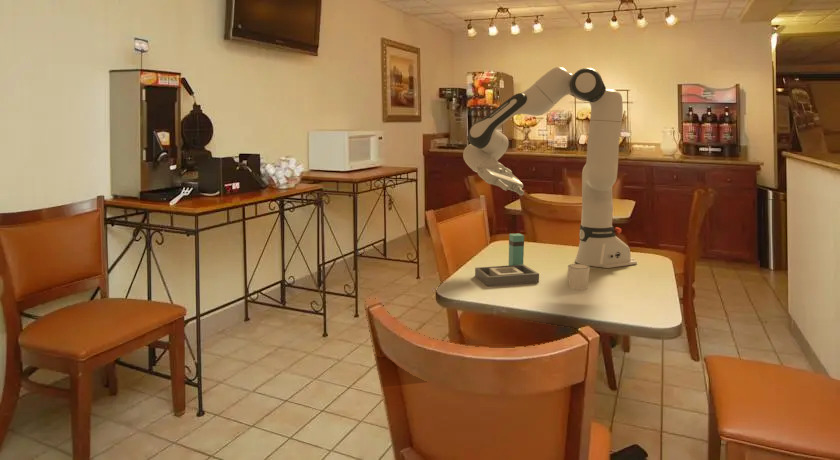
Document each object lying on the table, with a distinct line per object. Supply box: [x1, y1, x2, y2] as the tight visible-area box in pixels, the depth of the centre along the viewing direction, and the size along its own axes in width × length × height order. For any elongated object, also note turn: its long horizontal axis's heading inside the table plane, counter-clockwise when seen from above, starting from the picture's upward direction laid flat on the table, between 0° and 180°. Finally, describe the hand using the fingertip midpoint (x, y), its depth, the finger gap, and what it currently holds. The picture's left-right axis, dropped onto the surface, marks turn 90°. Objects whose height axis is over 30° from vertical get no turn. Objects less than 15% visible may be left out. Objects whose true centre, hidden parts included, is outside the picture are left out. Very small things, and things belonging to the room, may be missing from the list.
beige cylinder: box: [567, 263, 591, 291], centre depth 181 cm, size 7×7×7 cm
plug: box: [508, 232, 525, 265], centre depth 203 cm, size 4×4×13 cm
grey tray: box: [474, 263, 540, 287], centre depth 191 cm, size 18×13×3 cm
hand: (514, 191), depth 205 cm, fingers open, 8 cm apart
